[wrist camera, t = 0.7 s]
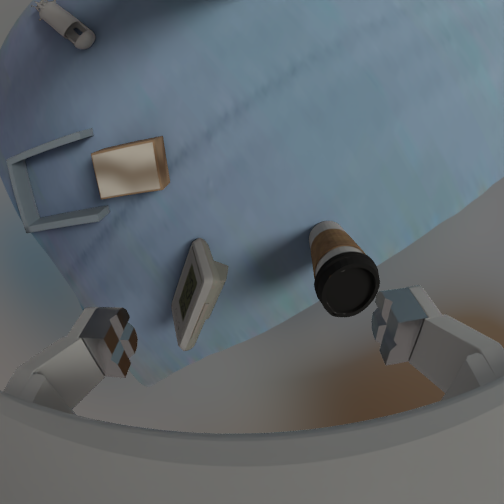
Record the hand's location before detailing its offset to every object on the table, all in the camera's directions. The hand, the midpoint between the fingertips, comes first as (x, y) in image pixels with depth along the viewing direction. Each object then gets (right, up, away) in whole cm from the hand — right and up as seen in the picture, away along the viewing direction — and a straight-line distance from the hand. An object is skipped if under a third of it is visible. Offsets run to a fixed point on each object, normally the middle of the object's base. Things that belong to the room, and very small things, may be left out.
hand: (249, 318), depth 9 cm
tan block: (-17, +15, +32) cm, 39 cm away
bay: (-33, +14, +33) cm, 49 cm away
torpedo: (-30, +40, +19) cm, 53 cm away
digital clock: (-9, -2, +42) cm, 43 cm away
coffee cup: (+12, +4, +38) cm, 40 cm away
